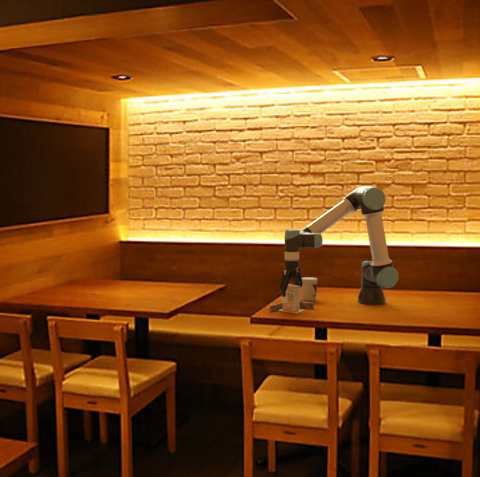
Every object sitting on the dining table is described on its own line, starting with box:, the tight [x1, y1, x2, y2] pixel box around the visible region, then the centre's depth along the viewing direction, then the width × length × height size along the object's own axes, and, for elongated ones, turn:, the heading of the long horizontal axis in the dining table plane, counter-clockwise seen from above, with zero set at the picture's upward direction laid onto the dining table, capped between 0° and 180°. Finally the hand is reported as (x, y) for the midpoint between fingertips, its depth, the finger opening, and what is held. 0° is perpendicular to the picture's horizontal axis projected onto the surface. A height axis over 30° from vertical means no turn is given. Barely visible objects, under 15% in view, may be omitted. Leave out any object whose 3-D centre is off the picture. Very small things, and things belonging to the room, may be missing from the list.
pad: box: [277, 309, 305, 314], centre depth 352 cm, size 11×8×1 cm
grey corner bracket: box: [269, 300, 315, 313], centre depth 353 cm, size 14×20×3 cm
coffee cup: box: [300, 276, 319, 302], centre depth 383 cm, size 9×9×12 cm
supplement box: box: [282, 283, 301, 312], centre depth 351 cm, size 8×5×13 cm, turn 43°
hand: (291, 300), depth 351 cm, fingers open, 13 cm apart
